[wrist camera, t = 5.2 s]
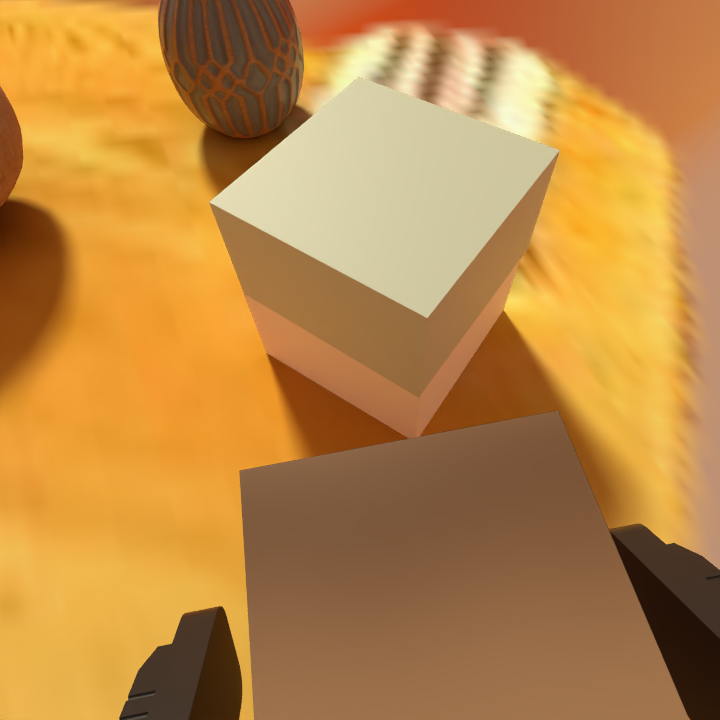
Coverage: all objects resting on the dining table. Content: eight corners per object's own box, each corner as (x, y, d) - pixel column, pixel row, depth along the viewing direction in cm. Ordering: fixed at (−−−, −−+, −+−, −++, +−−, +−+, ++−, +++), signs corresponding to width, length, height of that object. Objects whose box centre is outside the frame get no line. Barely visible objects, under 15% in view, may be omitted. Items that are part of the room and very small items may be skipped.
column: (523, 732, 14) (736, 829, 5) (343, 772, 14) (267, 940, 5) (470, 544, 17) (558, 410, 8) (317, 574, 16) (239, 471, 8)
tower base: (415, 444, 19) (421, 393, 15) (267, 355, 21) (243, 294, 17) (502, 312, 21) (524, 244, 18) (364, 246, 24) (360, 175, 20)
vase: (308, 153, 27) (277, -44, 20) (179, 159, 27) (100, -34, 20) (313, 78, 31) (289, -113, 23) (199, 84, 31) (139, -104, 23)
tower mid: (418, 398, 15) (427, 318, 12) (244, 293, 17) (209, 202, 14) (526, 249, 18) (559, 150, 14) (363, 177, 20) (358, 76, 17)
